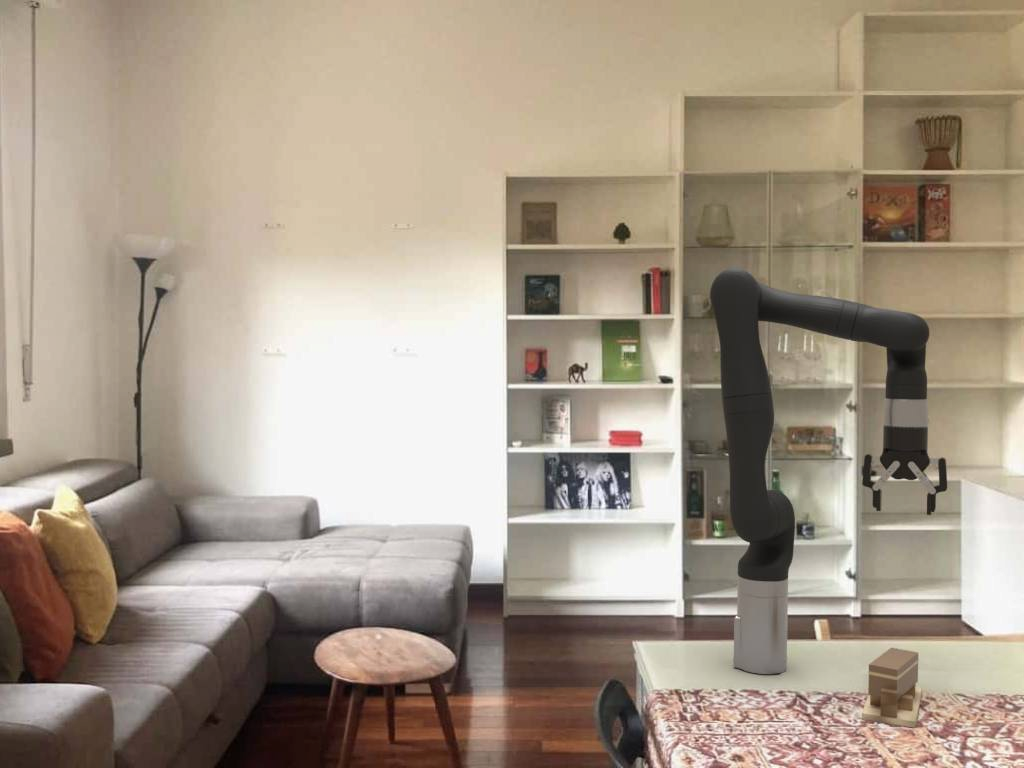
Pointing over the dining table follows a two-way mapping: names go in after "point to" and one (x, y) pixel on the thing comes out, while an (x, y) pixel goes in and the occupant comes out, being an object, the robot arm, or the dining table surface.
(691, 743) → the dining table surface
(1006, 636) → the dining table surface
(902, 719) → the display cradle
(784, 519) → the robot arm
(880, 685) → the brown rectangular box
